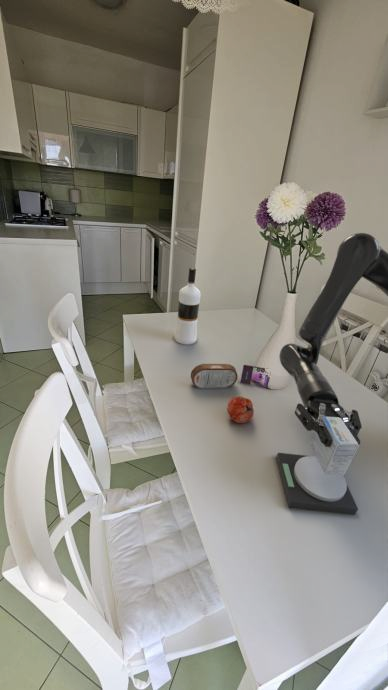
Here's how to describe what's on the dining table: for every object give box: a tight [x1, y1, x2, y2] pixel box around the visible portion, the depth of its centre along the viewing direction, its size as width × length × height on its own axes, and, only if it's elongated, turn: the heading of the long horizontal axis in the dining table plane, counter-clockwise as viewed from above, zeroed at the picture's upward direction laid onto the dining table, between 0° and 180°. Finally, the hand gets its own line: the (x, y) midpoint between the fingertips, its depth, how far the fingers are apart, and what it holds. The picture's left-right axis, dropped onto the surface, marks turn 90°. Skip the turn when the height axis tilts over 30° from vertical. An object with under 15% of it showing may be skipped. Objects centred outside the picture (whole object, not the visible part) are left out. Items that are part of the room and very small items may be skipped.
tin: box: [190, 363, 238, 389], centre depth 97 cm, size 15×3×8 cm, turn 100°
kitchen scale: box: [275, 452, 359, 516], centre depth 68 cm, size 14×13×4 cm
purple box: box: [240, 364, 270, 389], centre depth 102 cm, size 7×5×9 cm
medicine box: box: [309, 417, 360, 476], centre depth 63 cm, size 8×4×9 cm, turn 3°
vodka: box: [173, 267, 202, 345], centre depth 119 cm, size 9×9×30 cm
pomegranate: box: [226, 396, 255, 424], centre depth 85 cm, size 7×7×10 cm
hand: (342, 445), depth 59 cm, fingers closed on medicine box, 4 cm apart
